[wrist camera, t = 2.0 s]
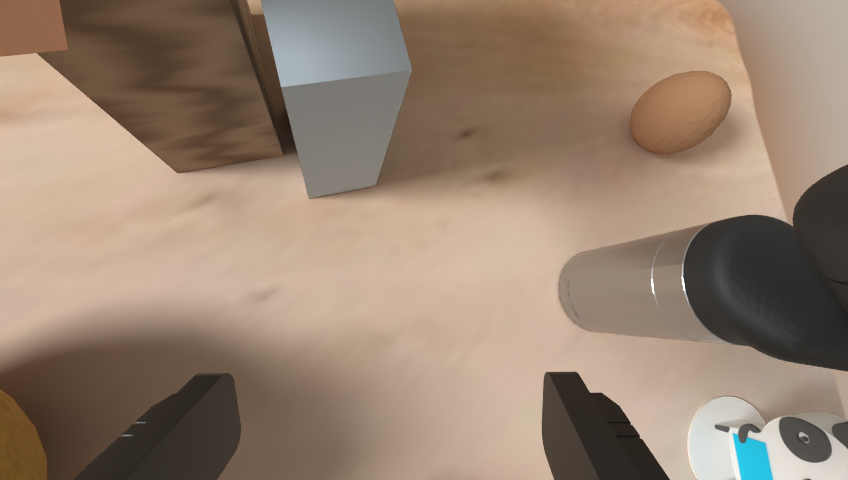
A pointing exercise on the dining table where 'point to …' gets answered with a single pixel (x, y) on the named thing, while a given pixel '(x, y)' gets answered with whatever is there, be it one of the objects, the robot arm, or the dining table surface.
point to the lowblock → (339, 85)
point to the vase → (19, 444)
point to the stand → (173, 76)
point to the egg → (680, 111)
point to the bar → (31, 27)
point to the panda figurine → (766, 444)
